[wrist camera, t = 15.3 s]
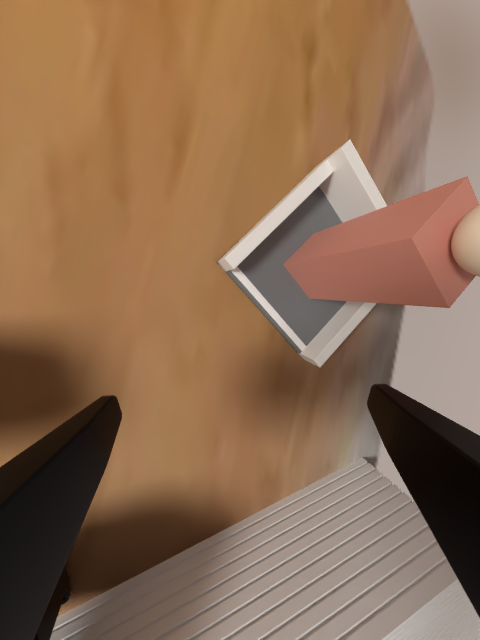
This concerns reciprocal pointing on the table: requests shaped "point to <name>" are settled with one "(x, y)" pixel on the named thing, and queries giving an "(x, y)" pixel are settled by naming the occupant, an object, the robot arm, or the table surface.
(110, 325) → the table surface
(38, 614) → the robot arm
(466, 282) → the foosball player
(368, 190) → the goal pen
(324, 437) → the table surface
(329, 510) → the ridged white long block
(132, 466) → the table surface
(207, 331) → the table surface
